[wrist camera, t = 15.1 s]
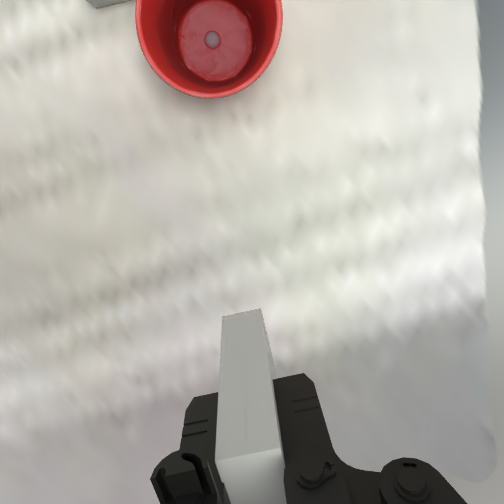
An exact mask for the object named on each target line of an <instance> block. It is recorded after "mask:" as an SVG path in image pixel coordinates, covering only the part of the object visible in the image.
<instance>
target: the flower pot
mask: <svg viewBox="0 0 504 504" xmlns="http://www.w3.org/2000/svg"><path fill="white" fill-rule="evenodd" d="M135 16H136V29H137V35H138V39H139V43H140V46H141V49H142V52H143V54H144V56H145V58H146V60H147V61H148V63H149V65H150V66H151V67H152V69H153V70H154V71H155V73H156V74H157V75H158V76H159V77H160V78H161V79H162V80H163V81H165V82H166V83H167V84H169V85H170V86H171V87H173V88H174V89H176V90H178V91H180V92H182V93H185V94H187V95H190V96H194V97H199V98H221V97H226V96H230V95H233V94H235V93H238V92H240V91H242V90H243V89H245V88H247V87H248V86H250V85H251V84H252V83H253V82H255V81H256V80H257V79H258V78H259V77H260V76H261V75H262V73H263V72H264V71H265V70H266V68H267V67H268V65H269V64H270V62H271V60H272V58H273V57H274V54H275V52H276V50H277V47H278V44H279V41H280V36H281V31H282V21H283V13H282V3H281V0H137V1H136V13H135Z"/></svg>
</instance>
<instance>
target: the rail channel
mask: <svg viewBox="0 0 504 504" xmlns="http://www.w3.org/2000/svg"><path fill="white" fill-rule="evenodd" d="M86 1H88V2H89V3H90V4H92V5H93V6H94V7H96V8H101V7H105V6H109V5H113V4H117V3H122V2H126V1H130V0H86Z"/></svg>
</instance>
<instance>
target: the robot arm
mask: <svg viewBox="0 0 504 504" xmlns="http://www.w3.org/2000/svg"><path fill="white" fill-rule="evenodd" d="M150 480H151V482H152V485H153V487H154V489H155V492H156V494H157V497H158V499H159V501H160V504H467V503H466V502H465V501H464V499H463V498H462V497H461V496H460V495H459V494H458V493H457V492H456V491H455V489H454V488H453V487H452V486H451V485H450V484H449V483H448V482H447V480H445V478H444V477H443V476H442V475H441V474H440V473H439V472H438V471H437V470H436V469H435V468H433V467H432V466H431V465H430V464H428V463H426V462H423V461H421V460H418V459H415V458H400V459H396V460H392V461H391V462H389V463H388V464H387V465H385V466H384V467H383V469H382V471H381V472H373V471H364V470H359V469H355V468H353V467H351V466H349V465H347V464H346V463H344V462H343V461H341V460H340V458H339V457H338V456H337V455H336V453H335V451H334V449H333V447H332V443H331V440H330V436H329V433H328V430H327V426H326V423H325V420H324V416H323V413H322V409H321V406H320V403H319V399H318V396H317V393H316V389H315V386H314V382H312V381H311V380H310V379H309V378H308V377H307V376H306V375H305V374H304V373H302V374H297V375H292V376H287V377H283V378H278V379H277V378H276V372H275V366H274V362H273V358H272V353H271V349H270V345H269V341H268V337H267V332H266V328H265V324H264V320H263V315H262V311H261V309H256V310H251V311H247V312H242V313H237V314H233V315H228V316H224V317H222V334H221V353H220V373H219V392H217V393H212V394H207V395H203V396H198V397H194V398H193V400H192V401H191V403H190V405H189V406H188V408H187V409H186V412H185V419H184V427H183V431H182V438H181V444H180V450H178V451H175V452H173V453H171V454H170V455H168V456H167V457H165V458H164V459H162V460H161V462H160V463H159V464H158V465H157V466H156V468H155V469H154V471H153V473H152V476H151V478H150Z"/></svg>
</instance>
